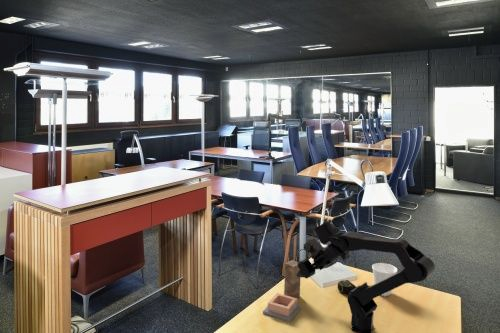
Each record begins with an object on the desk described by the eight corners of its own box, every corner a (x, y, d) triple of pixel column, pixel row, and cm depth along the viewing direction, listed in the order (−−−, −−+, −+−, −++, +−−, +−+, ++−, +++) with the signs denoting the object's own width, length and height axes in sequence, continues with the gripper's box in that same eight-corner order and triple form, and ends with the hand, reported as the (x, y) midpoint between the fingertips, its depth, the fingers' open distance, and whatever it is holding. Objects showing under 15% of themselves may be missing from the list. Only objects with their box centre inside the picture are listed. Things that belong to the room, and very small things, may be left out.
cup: (380, 300, 149) (382, 274, 148) (365, 289, 159) (367, 264, 157) (400, 296, 152) (402, 271, 151) (384, 285, 162) (386, 261, 160)
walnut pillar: (299, 296, 152) (300, 263, 150) (292, 299, 149) (293, 266, 147) (291, 292, 155) (292, 260, 153) (284, 295, 152) (285, 263, 150)
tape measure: (357, 294, 154) (358, 285, 154) (342, 296, 152) (343, 288, 152) (348, 286, 161) (348, 278, 160) (334, 288, 159) (334, 280, 158)
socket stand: (301, 307, 144) (301, 297, 143) (290, 321, 134) (290, 311, 133) (275, 300, 149) (275, 290, 148) (262, 313, 139) (263, 303, 138)
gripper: (331, 229, 146) (307, 248, 156) (302, 241, 133) (278, 261, 143) (348, 254, 142) (322, 272, 151) (320, 269, 129) (293, 287, 139)
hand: (304, 272), depth 146 cm, fingers open, 9 cm apart
